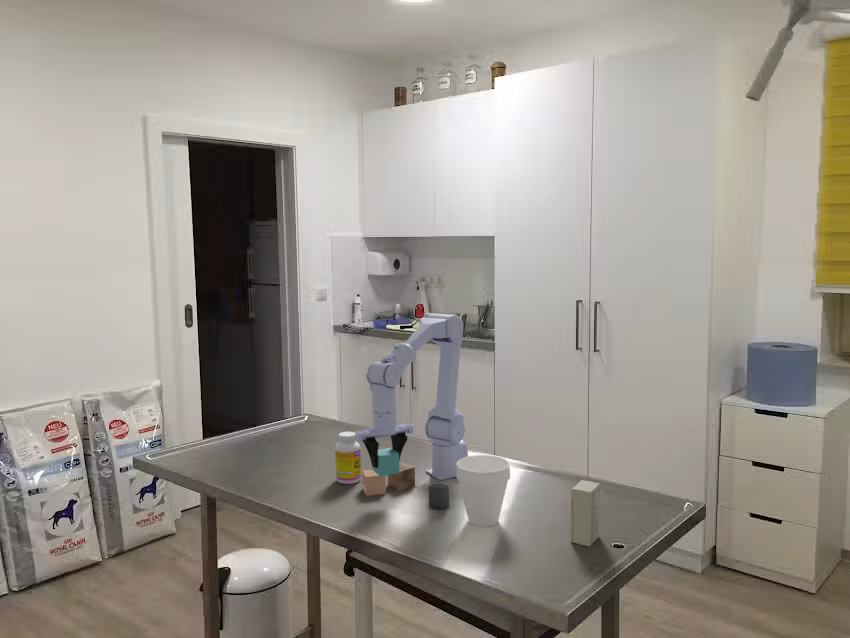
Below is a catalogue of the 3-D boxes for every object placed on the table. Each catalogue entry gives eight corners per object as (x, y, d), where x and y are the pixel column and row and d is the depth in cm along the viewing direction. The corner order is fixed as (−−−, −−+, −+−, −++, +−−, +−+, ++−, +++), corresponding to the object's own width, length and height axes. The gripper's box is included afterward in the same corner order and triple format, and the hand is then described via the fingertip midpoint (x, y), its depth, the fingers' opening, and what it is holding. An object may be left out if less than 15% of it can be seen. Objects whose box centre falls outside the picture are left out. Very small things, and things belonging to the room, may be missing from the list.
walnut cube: (402, 480, 193) (402, 462, 192) (415, 485, 189) (414, 467, 189) (388, 485, 190) (387, 466, 189) (400, 490, 186) (399, 471, 185)
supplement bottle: (357, 485, 190) (355, 438, 188) (332, 484, 191) (331, 437, 189) (364, 476, 196) (362, 430, 195) (340, 475, 198) (339, 429, 196)
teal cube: (391, 466, 181) (390, 447, 180) (399, 472, 176) (398, 452, 176) (372, 470, 179) (371, 450, 178) (380, 476, 174) (379, 456, 173)
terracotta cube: (381, 487, 189) (380, 468, 188) (385, 493, 184) (385, 474, 183) (362, 489, 187) (362, 470, 187) (366, 496, 183) (365, 477, 182)
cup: (495, 536, 158) (495, 476, 156) (446, 524, 164) (446, 466, 162) (519, 516, 168) (519, 459, 166) (472, 506, 174) (472, 451, 173)
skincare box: (580, 532, 159) (581, 478, 157) (600, 536, 157) (601, 482, 155) (569, 542, 154) (570, 488, 152) (589, 547, 151) (590, 491, 150)
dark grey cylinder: (443, 501, 178) (443, 481, 178) (453, 508, 174) (452, 488, 173) (425, 504, 176) (424, 485, 175) (434, 512, 172) (434, 491, 171)
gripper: (404, 403, 182) (405, 455, 184) (350, 411, 176) (351, 465, 178) (416, 409, 176) (417, 463, 178) (361, 417, 170) (362, 473, 171)
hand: (385, 465), depth 177 cm, fingers closed on teal cube, 5 cm apart
